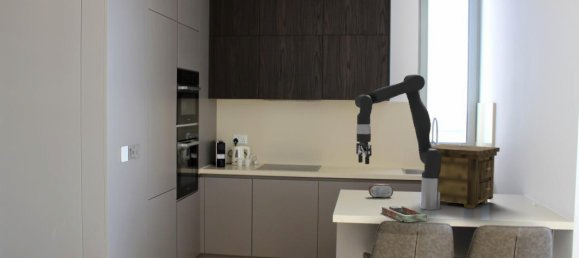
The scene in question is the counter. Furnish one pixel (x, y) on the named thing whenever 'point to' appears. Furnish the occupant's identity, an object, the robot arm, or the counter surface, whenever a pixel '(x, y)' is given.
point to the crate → (466, 173)
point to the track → (411, 216)
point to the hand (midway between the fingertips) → (363, 163)
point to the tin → (380, 190)
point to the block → (396, 209)
